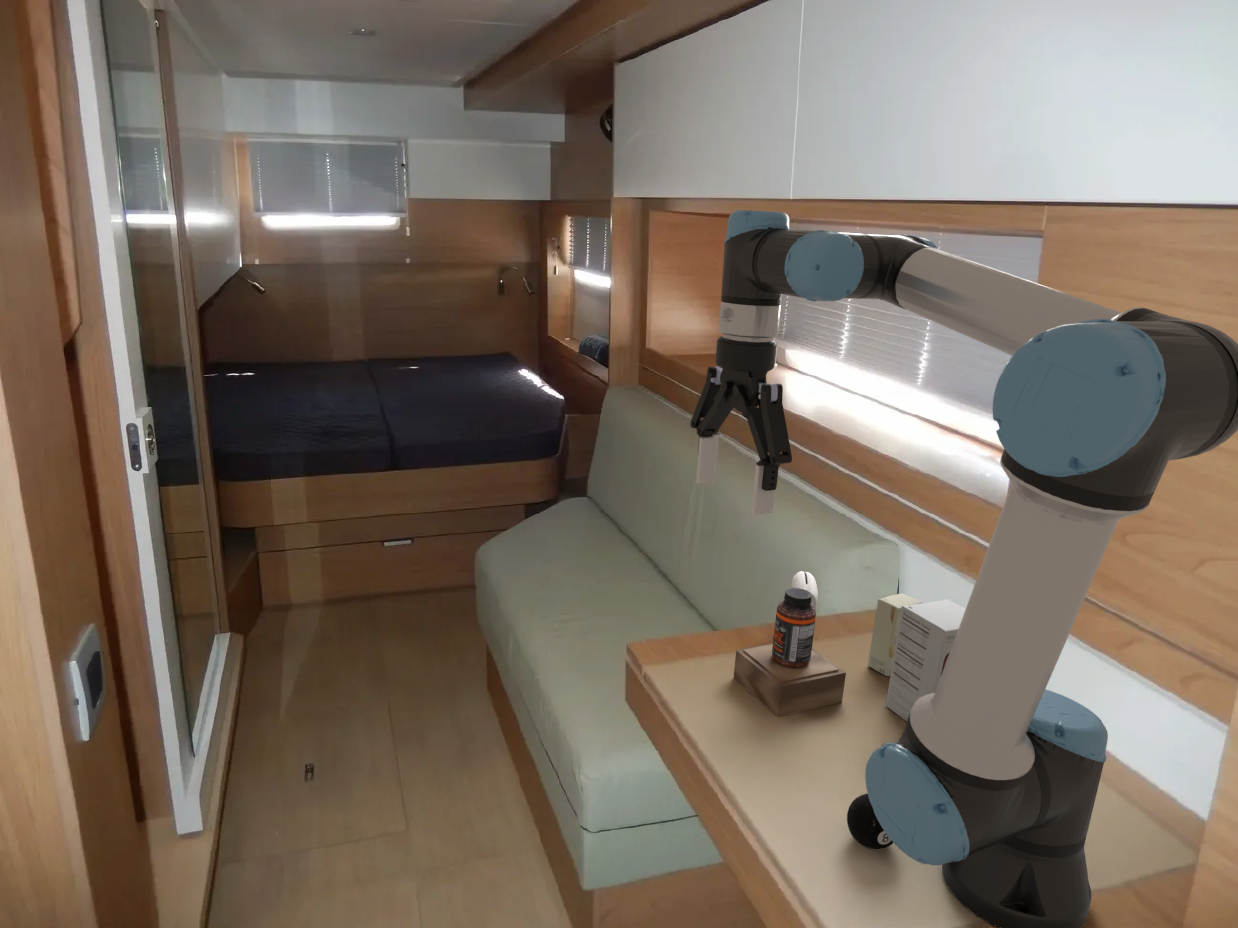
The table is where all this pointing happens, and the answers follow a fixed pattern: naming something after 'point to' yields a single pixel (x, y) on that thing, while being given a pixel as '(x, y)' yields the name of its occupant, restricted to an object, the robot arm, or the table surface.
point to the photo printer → (806, 585)
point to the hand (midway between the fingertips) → (732, 497)
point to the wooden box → (788, 681)
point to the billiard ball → (866, 825)
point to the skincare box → (887, 631)
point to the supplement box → (921, 651)
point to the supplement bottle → (794, 629)
